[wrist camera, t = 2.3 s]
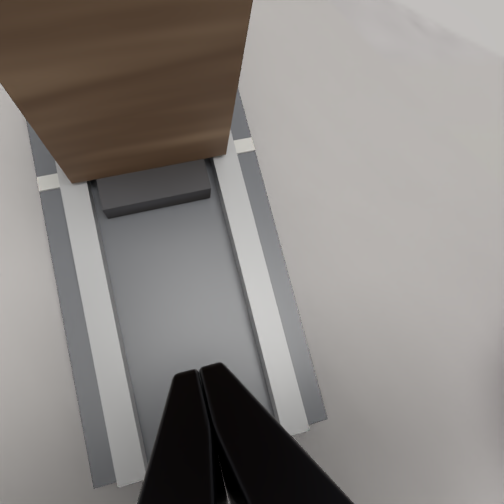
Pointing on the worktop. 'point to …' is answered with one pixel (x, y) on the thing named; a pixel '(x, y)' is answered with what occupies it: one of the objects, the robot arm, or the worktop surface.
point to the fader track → (173, 303)
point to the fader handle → (127, 90)
